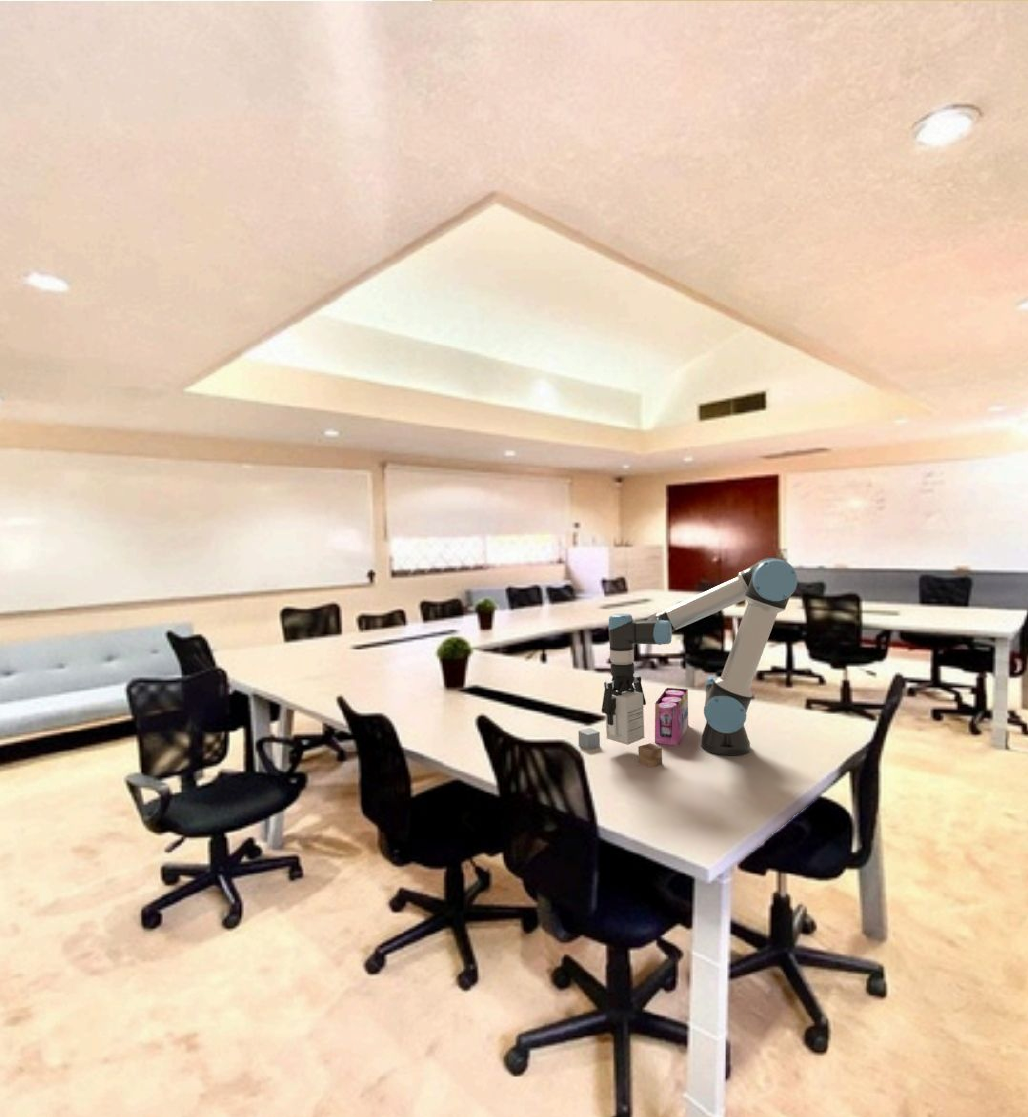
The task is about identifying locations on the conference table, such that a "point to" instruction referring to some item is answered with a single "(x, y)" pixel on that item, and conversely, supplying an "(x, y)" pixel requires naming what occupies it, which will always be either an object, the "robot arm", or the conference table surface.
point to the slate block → (589, 738)
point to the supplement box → (628, 718)
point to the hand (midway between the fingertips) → (625, 731)
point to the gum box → (671, 716)
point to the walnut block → (650, 755)
